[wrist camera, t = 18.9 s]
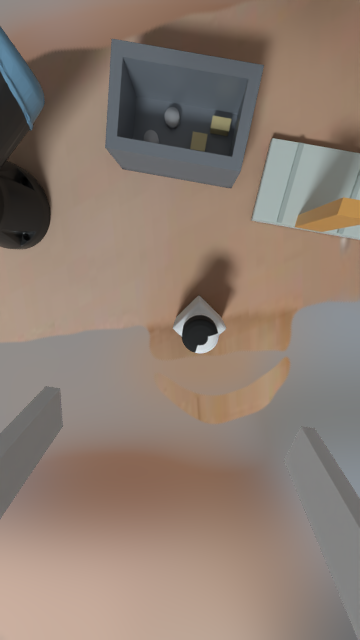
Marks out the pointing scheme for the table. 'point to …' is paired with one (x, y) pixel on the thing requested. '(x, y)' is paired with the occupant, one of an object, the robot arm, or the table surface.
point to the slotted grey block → (310, 189)
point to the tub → (179, 112)
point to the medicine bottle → (199, 326)
